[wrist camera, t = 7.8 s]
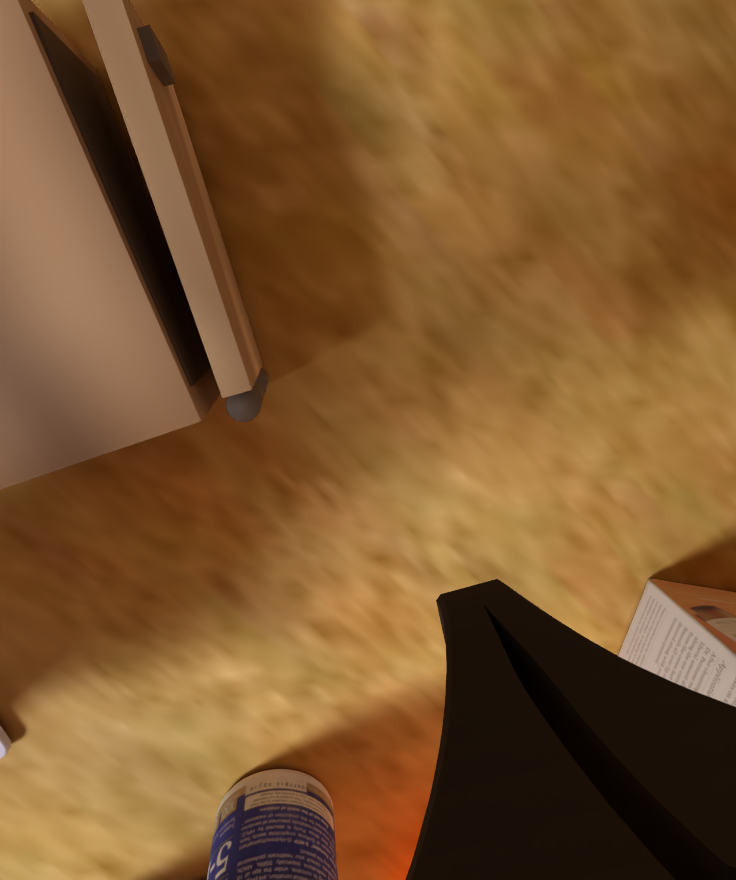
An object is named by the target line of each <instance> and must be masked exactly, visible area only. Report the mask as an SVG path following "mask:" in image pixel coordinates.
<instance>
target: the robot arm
mask: <svg viewBox="0 0 736 880" xmlns="http://www.w3.org/2000/svg"><path fill="white" fill-rule="evenodd" d="M436 602H437V606H438V611H439V616H440V620H441V625H442V629H443V634H444V639H445V643H446V659H447V674H446V696H445V709H444V719H443V727H442V735H441V742H440V748H439V754H438V759H437V765H436V770H435V775H434V780H433V785H432V790H431V794H430V798H429V802H428V806H427V810H426V813H425V817H424V821H423V824H422V828H421V832H420V835H419V839H418V843H417V846H416V850H415V853H414V856H413V859H412V863H411V865H410V868H409V871H408V874H407V877H406V880H736V707H735V706H732V705H730V704H727V703H724V702H722V701H719V700H716V699H714V698H711V697H708V696H706V695H703V694H701V693H698V692H695V691H693V690H691V689H688V688H686V687H683V686H681V685H679V684H676V683H674V682H671V681H669V680H667V679H665V678H663V677H661V676H658V675H656V674H654V673H652V672H650V671H648V670H646V669H643V668H641V667H639V666H637V665H635V664H633V663H631V662H629V661H627V660H625V659H623V658H621V657H619V656H617V655H615V654H613V653H612V652H610V651H608V650H606V649H604V648H603V647H601V646H599V645H597V644H595V643H594V642H592V641H590V640H589V639H587V638H585V637H584V636H582V635H580V634H579V633H577V632H575V631H574V630H572V629H571V628H569V627H568V626H566V625H564V624H563V623H561V622H560V621H558V620H556V619H555V618H553V617H552V616H550V615H549V614H547V613H546V612H544V611H543V610H541V609H540V608H538V607H537V606H535V605H534V604H533V603H531V602H530V601H528V600H527V599H525V598H524V597H523V596H521V595H520V594H518V593H517V592H516V591H514V590H513V589H511V588H510V587H509V586H507V585H506V584H504V583H503V582H501V581H500V580H498V579H495V580H492V581H488V582H484V583H481V584H477V585H473V586H470V587H466V588H462V589H459V590H455V591H451V592H447V593H444V594H441V595H440V596H439V597H438V599H437V600H436ZM10 747H11V741H10V739H9V737H8V736H7V734H6V733H5V731H4V730H3V729H2V727H1V726H0V759H1V758H2V757H4V756H5V755H6V754H7V752H8V751H9V749H10Z"/></svg>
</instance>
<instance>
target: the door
mask: <svg viewBox="0 0 736 880" xmlns="http://www.w3.org/2000/svg"><path fill="white" fill-rule="evenodd" d="M82 2H83V5H84V7H85V10H86V13H87V16H88V19H89V22H90V24H91V27H92V30H93V33H94V36H95V39H96V41H97V44H98V47H99V50H100V53H101V56H102V58H103V61H104V64H105V67H106V70H107V73H108V75H109V78H110V81H111V84H112V87H113V90H114V93H115V95H116V98H117V101H118V104H119V107H120V110H121V112H122V115H123V118H124V121H125V124H126V127H127V129H128V132H129V135H130V138H131V141H132V144H133V146H134V149H135V152H136V155H137V158H138V161H139V163H140V166H141V169H142V172H143V175H144V178H145V180H146V183H147V186H148V189H149V192H150V195H151V197H152V200H153V203H154V206H155V209H156V212H157V214H158V217H159V220H160V223H161V226H162V229H163V231H164V234H165V237H166V240H167V243H168V246H169V248H170V251H171V254H172V257H173V260H174V263H175V266H176V268H177V271H178V274H179V277H180V280H181V283H182V285H183V288H184V291H185V294H186V297H187V300H188V302H189V305H190V308H191V311H192V314H193V317H194V319H195V322H196V325H197V328H198V331H199V334H200V336H201V339H202V342H203V345H204V348H205V351H206V353H207V356H208V359H209V362H210V365H211V368H212V370H213V373H214V376H215V379H216V382H217V385H218V387H219V390H220V393H221V396H222V398H225V397H228V399H227V401H226V409H227V412H228V414H229V415H230V416H231V417H232V418H233V419H235V420H237V421H239V422H248V421H251V420H253V419H254V418H255V417H256V416H257V415H258V413H259V410H260V407H261V404H262V400H263V396H264V393H265V390H266V387H267V383H268V375H267V373H266V371H265V370H264V369H263V368H261V367H262V365H263V363H262V360H261V357H260V354H259V351H258V348H257V345H256V341H255V338H254V335H253V332H252V329H251V326H250V323H249V320H248V317H247V313H246V310H245V307H244V304H243V301H242V298H241V295H240V292H239V289H238V285H237V282H236V279H235V276H234V273H233V270H232V267H231V264H230V261H229V257H228V254H227V251H226V248H225V245H224V242H223V239H222V236H221V233H220V229H219V226H218V223H217V220H216V217H215V214H214V211H213V208H212V205H211V201H210V198H209V195H208V192H207V189H206V186H205V183H204V180H203V177H202V173H201V170H200V167H199V164H198V161H197V158H196V155H195V152H194V149H193V145H192V142H191V139H190V136H189V133H188V130H187V127H186V124H185V121H184V117H183V114H182V111H181V108H180V105H179V102H178V99H177V96H176V93H175V89H174V86H173V84H175V80H174V77H173V74H172V71H171V68H170V65H169V62H168V59H167V55H166V53H165V51H164V49H163V48H162V46H161V44H160V42H159V41H158V39H157V37H156V35H155V34H154V32H153V30H152V29H151V27H150V25H147V26H144V25H143V23H142V21H141V20H140V18H139V16H138V15H137V13H136V11H135V10H134V8H133V6H132V5H131V3H130V1H129V0H82Z"/></svg>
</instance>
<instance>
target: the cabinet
mask: <svg viewBox="0 0 736 880" xmlns="http://www.w3.org/2000/svg"><path fill="white" fill-rule="evenodd" d="M219 395H220V390H219V387H218V385H217V382H216V379H215V376H214V373H213V370H212V368H211V365H210V362H209V359H208V356H207V353H206V351H205V348H204V345H203V342H202V339H201V336H200V334H199V331H198V328H197V325H196V322H195V319H194V317H193V314H192V311H191V308H190V305H189V302H188V300H187V297H186V294H185V291H184V288H183V285H182V283H181V280H180V277H179V274H178V271H177V268H176V266H175V263H174V260H173V257H172V254H171V252H170V249H169V247H168V245H167V242H166V240H165V237H164V235H163V232H162V230H161V228H160V225H159V223H158V220H157V218H156V215H155V213H154V211H153V208H152V206H151V203H150V201H149V198H148V196H147V193H146V191H145V189H144V186H143V184H142V181H141V179H140V176H139V174H138V172H137V169H136V167H135V164H134V162H133V159H132V157H131V155H130V152H129V150H128V147H127V145H126V142H125V140H124V138H123V135H122V133H121V130H120V128H119V125H118V123H117V121H116V118H115V116H114V113H113V111H112V108H111V106H110V103H109V101H108V99H107V96H106V94H105V91H104V89H103V86H102V84H101V82H100V79H99V77H98V74H97V72H96V69H95V67H94V66H93V65H92V64H91V63H90V62H89V61H88V60H87V59H86V58H85V57H84V56H83V55H82V54H81V53H80V52H79V51H78V49H77V48H76V47H75V46H74V45H73V44H72V43H71V42H70V41H69V40H68V39H67V38H66V37H65V36H64V35H63V34H62V33H61V32H60V31H59V30H58V28H57V27H56V26H55V25H54V24H53V23H52V22H51V21H50V20H49V19H48V18H47V17H46V16H45V15H44V14H43V13H42V12H41V11H40V10H39V9H38V8H37V6H36V5H35V4H34V3H33V2H32V1H31V0H0V490H1V489H4V488H7V487H10V486H13V485H16V484H19V483H22V482H25V481H28V480H30V479H33V478H36V477H39V476H42V475H45V474H48V473H51V472H54V471H57V470H60V469H63V468H66V467H69V466H72V465H75V464H77V463H80V462H83V461H86V460H89V459H92V458H95V457H98V456H101V455H104V454H107V453H110V452H113V451H116V450H119V449H122V448H124V447H127V446H130V445H133V444H136V443H139V442H142V441H145V440H148V439H151V438H154V437H157V436H160V435H163V434H166V433H169V432H171V431H174V430H177V429H180V428H183V427H186V426H189V425H192V424H195V423H198V422H201V421H202V419H203V418H204V417H205V415H206V414H207V412H208V411H209V409H210V408H211V406H212V405H213V403H214V402H215V400H216V399H217V397H218V396H219Z"/></svg>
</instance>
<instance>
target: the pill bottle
mask: <svg viewBox="0 0 736 880" xmlns="http://www.w3.org/2000/svg"><path fill="white" fill-rule="evenodd" d="M207 880H338V876H337V860H336V843H335V825H334V809H333V803H332V799H331V797H330V795H329V793H328V791H327V790H326V788H325V787H324V786H323V785H322V784H321V783H320V782H319V781H318V780H316V779H315V778H313V777H312V776H310V775H308V774H305V773H303V772H300V771H295V770H289V769H272V770H266V771H262V772H258V773H255V774H253V775H250V776H248V777H246V778H244V779H243V780H241V781H239V782H238V783H237V784H235V785H234V786H233V787H232V788H231V789H230V790H229V791H228V792H227V794H226V795H225V796H224V798H223V799H222V801H221V803H220V806H219V808H218V811H217V815H216V822H215V827H214V834H213V841H212V847H211V854H210V861H209V867H208V874H207Z"/></svg>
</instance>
